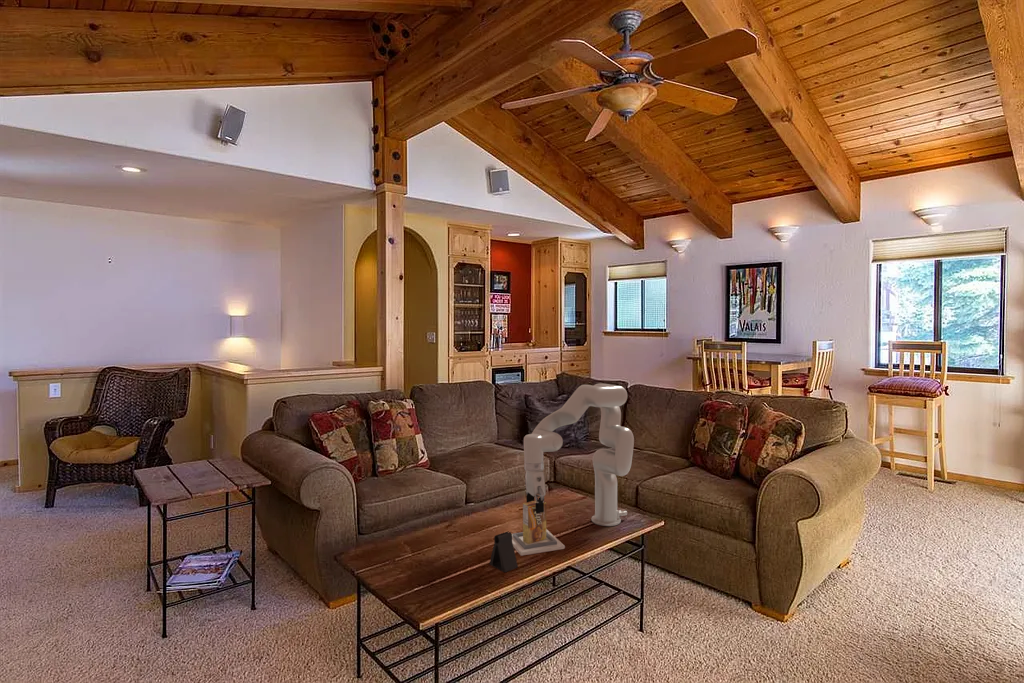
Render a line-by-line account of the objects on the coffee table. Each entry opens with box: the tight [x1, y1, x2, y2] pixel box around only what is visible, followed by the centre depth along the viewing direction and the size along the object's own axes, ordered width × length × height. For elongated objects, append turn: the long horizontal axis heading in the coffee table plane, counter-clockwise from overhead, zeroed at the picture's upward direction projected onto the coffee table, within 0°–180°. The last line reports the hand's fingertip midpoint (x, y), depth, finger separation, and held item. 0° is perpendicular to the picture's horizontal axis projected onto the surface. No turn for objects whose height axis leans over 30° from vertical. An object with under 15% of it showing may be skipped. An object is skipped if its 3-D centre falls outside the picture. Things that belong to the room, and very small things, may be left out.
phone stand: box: [488, 531, 519, 573], centre depth 212 cm, size 9×6×12 cm, turn 40°
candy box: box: [522, 499, 547, 544], centre depth 232 cm, size 9×4×15 cm, turn 124°
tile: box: [511, 528, 566, 557], centre depth 232 cm, size 18×18×2 cm
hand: (535, 508), depth 232 cm, fingers open, 9 cm apart
